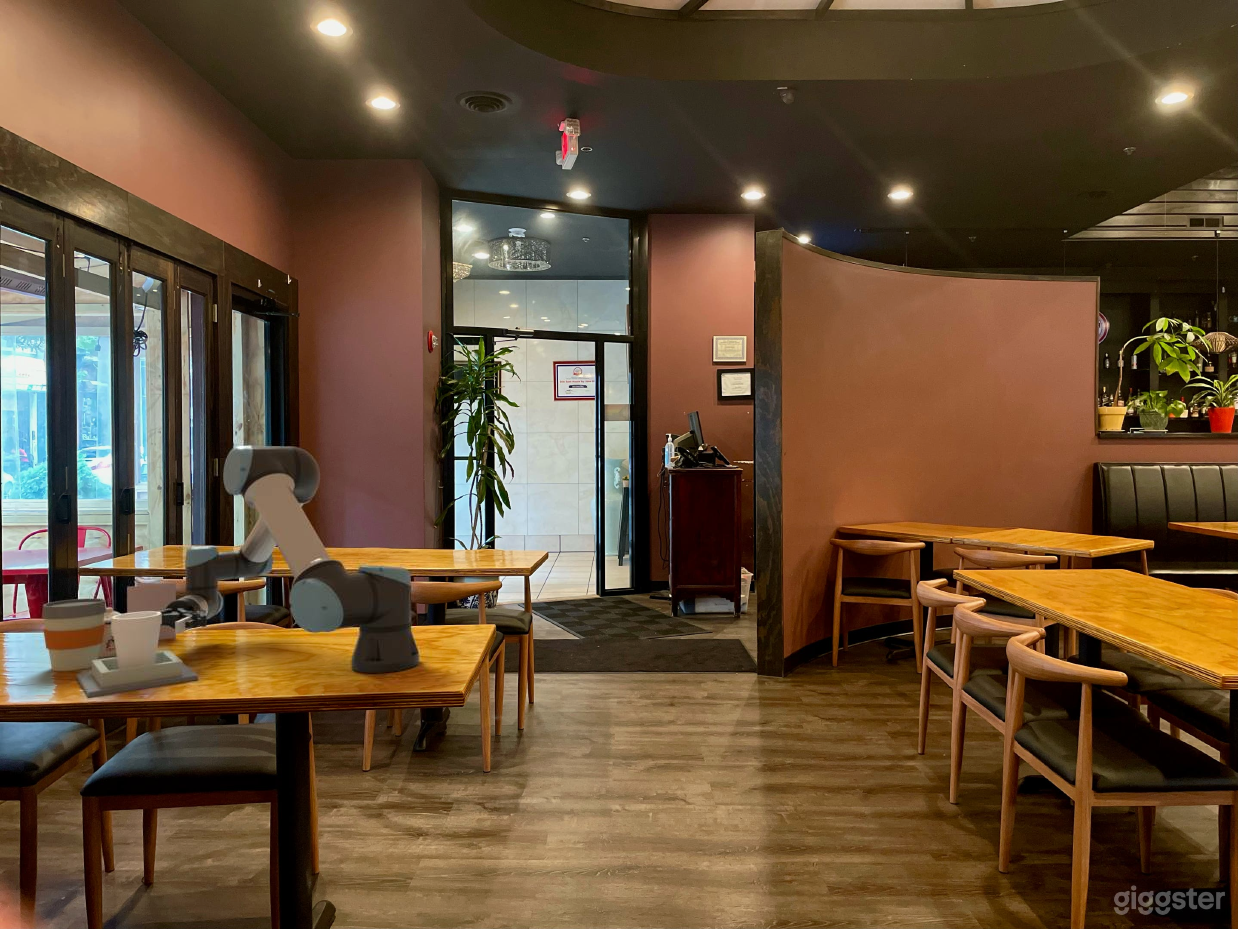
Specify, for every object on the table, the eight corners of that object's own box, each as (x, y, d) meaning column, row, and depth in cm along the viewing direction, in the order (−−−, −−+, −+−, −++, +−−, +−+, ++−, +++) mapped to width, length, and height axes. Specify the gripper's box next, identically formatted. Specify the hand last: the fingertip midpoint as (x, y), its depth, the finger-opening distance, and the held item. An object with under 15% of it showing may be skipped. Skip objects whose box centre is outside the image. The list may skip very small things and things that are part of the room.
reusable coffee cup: (101, 657, 195) (100, 596, 195) (111, 666, 186) (111, 602, 186) (38, 666, 186) (38, 602, 187) (46, 676, 177) (45, 609, 177)
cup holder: (198, 679, 172) (197, 661, 172) (88, 697, 159) (88, 677, 159) (178, 663, 188) (178, 646, 188) (76, 678, 175) (76, 660, 175)
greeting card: (178, 637, 218) (177, 583, 218) (159, 643, 211) (158, 587, 211) (140, 636, 220) (140, 582, 220) (120, 642, 212) (120, 586, 212)
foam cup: (138, 680, 168) (138, 619, 168) (101, 679, 170) (100, 618, 170) (171, 669, 178) (171, 611, 178) (135, 668, 179) (135, 611, 179)
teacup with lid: (109, 659, 193) (109, 611, 193) (77, 658, 194) (77, 610, 194) (147, 648, 205) (146, 603, 205) (116, 647, 206) (116, 602, 206)
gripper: (237, 625, 200) (203, 643, 179) (133, 628, 198) (86, 647, 177) (237, 596, 201) (203, 610, 179) (133, 598, 198) (86, 614, 177)
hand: (145, 629), depth 178 cm, fingers open, 13 cm apart
